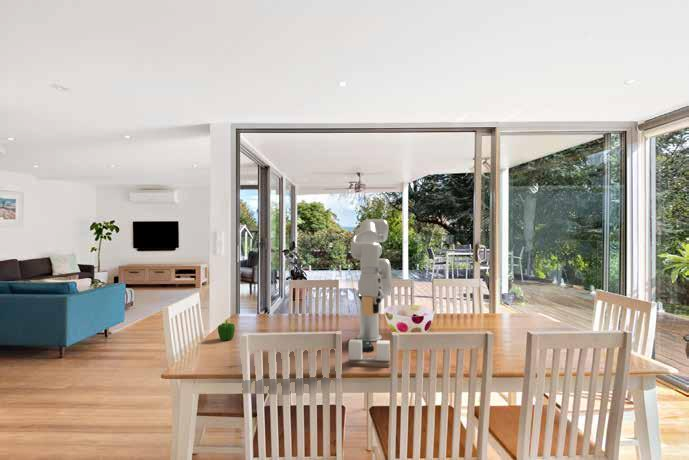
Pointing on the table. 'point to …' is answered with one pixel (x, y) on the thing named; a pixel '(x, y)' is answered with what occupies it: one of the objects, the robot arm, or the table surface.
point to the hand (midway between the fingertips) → (370, 311)
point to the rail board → (369, 361)
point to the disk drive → (365, 345)
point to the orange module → (368, 306)
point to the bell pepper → (226, 331)
